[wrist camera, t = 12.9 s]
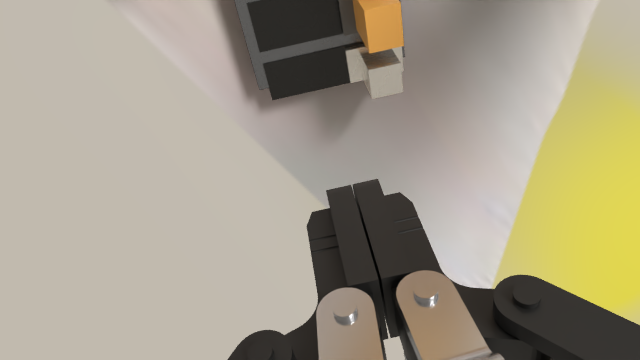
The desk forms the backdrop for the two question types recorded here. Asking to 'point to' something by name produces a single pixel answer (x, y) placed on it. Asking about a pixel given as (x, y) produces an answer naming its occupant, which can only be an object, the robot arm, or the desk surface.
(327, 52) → the panel
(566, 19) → the desk surface
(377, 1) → the orange rectangular block
